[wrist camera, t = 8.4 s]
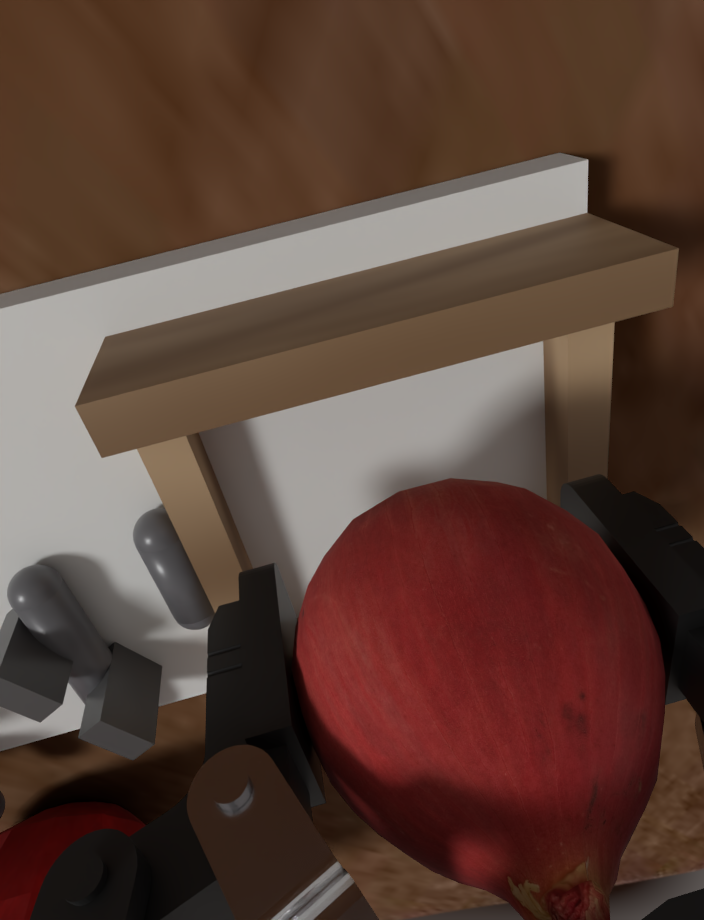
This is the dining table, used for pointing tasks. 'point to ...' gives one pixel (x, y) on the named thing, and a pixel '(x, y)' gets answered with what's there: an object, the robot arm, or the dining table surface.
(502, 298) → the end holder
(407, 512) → the onion
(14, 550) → the board
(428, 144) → the dining table surface
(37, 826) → the apple
